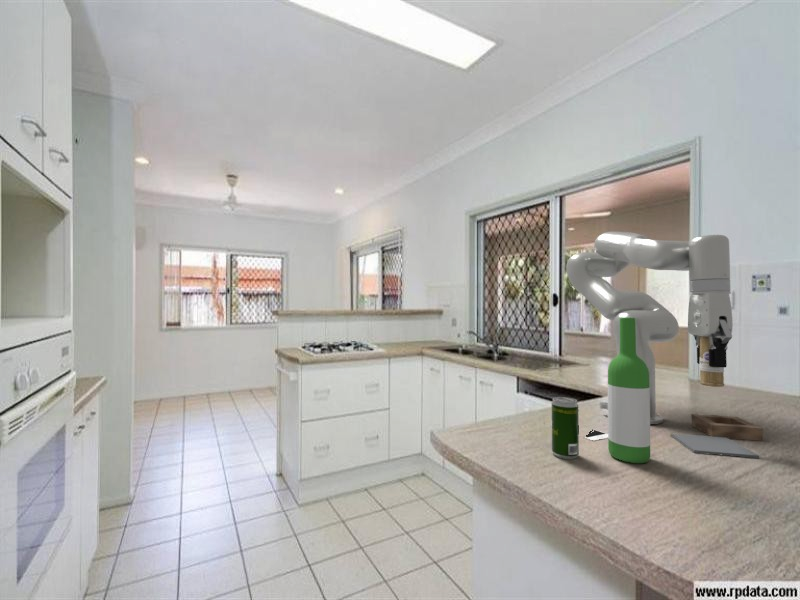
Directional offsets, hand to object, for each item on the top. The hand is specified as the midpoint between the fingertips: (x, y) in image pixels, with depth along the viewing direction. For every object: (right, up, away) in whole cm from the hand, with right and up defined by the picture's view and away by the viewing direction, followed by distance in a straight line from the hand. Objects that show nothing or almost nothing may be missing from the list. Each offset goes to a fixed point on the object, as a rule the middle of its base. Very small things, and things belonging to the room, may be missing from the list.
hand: (711, 364), depth 89 cm
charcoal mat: (-1, -19, -1) cm, 19 cm away
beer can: (-37, -19, -7) cm, 42 cm away
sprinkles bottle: (0, -5, 0) cm, 5 cm away
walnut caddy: (+11, -19, +9) cm, 24 cm away
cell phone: (-26, -20, +11) cm, 35 cm away
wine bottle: (-24, -19, -8) cm, 32 cm away
